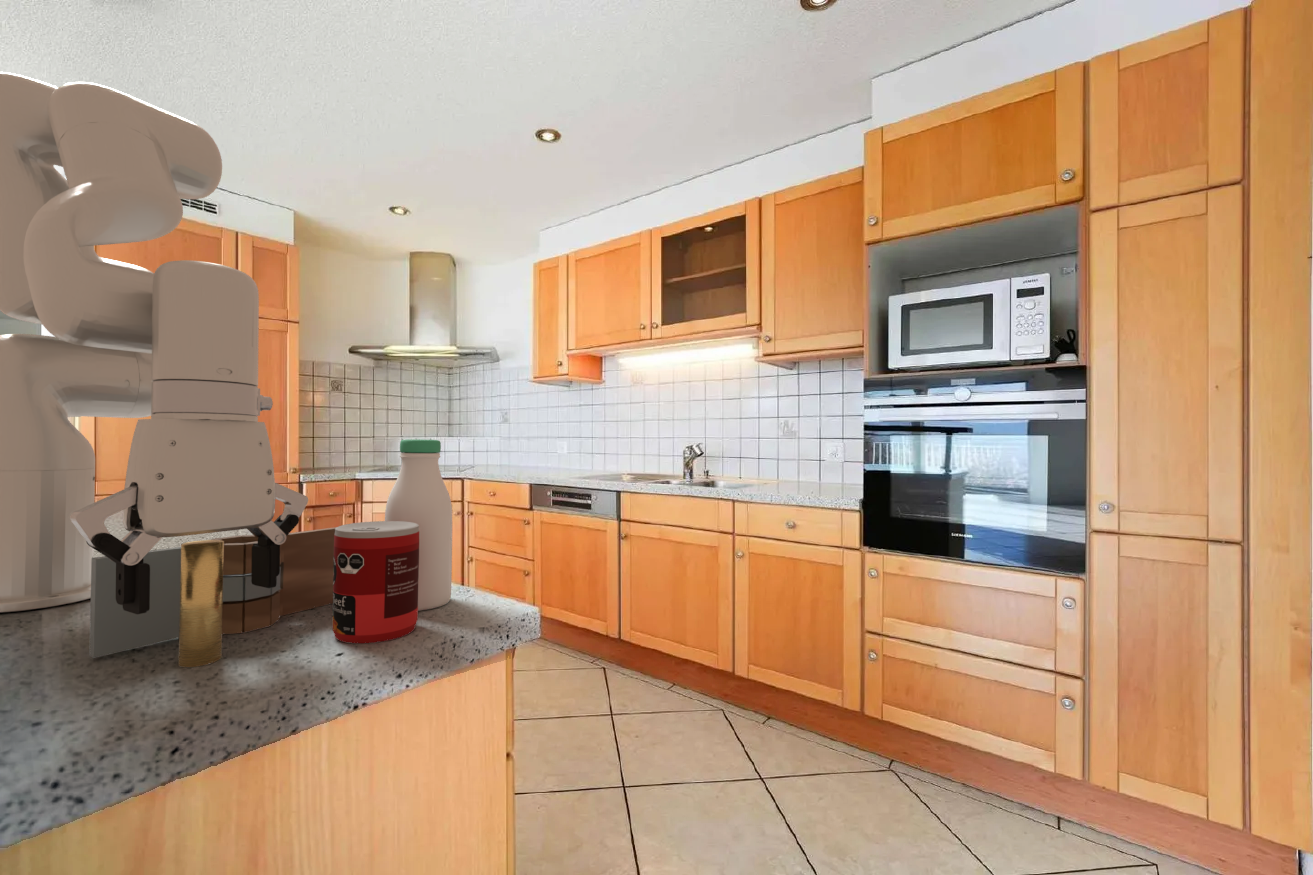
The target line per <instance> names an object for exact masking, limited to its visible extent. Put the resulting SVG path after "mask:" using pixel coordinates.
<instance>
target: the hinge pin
mask: <svg viewBox="0 0 1313 875" xmlns="http://www.w3.org/2000/svg"><path fill="white" fill-rule="evenodd" d="M180 547H181V575H180V621H179V638H178V666H179V667H182V668H194V667H195V668H196V667H202V666H206V665H210V664H213V663H216V662H218V661H219V660H220V659H222V646H223V645H222V644H223V641H222V640H223V634H222V605H223V559H224V541H222V540H211V539H206V540H205V539H204V540H195V541H194V540H193V541H188V542H183V543H181V545H180Z"/></svg>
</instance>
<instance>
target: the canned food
mask: <svg viewBox="0 0 1313 875" xmlns="http://www.w3.org/2000/svg"><path fill="white" fill-rule="evenodd" d="M336 527H337V528H335V534H334V563H333V604H332V631H333V632H332V633H333V635H334V637H335V639H337V640H338V641H340V642H343V643H346V644H347V643H349V644H375V643H383V642H389V641H393V640H396V639H399V638H402V637H405V636H407V635H409V634H410V633H412V632H413V631H414V630H415V629H416V626H417V622H418V618H419V617H418V612H419V611H418V578H419V525H418V524H416V523H412V522H403V521H385V520H383V521H381V520H379V521H376V520H375V521H364V522H363V521H362V522H352V523H347V524H342V525H339V526H336Z"/></svg>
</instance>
